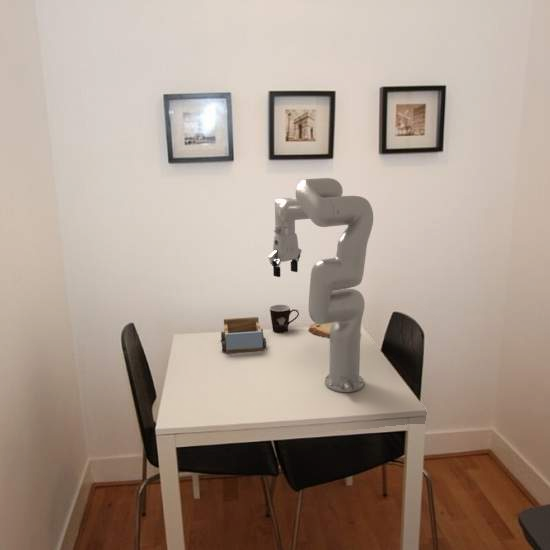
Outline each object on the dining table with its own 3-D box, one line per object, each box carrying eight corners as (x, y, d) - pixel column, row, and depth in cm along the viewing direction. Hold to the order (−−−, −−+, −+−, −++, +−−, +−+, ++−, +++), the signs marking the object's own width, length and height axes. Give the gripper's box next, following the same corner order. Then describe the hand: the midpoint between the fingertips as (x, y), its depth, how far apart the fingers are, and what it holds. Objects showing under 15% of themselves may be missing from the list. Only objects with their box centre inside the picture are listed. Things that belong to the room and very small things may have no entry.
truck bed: (266, 350, 179) (266, 330, 177) (222, 353, 177) (221, 333, 175) (262, 334, 195) (261, 316, 193) (221, 337, 193) (220, 319, 191)
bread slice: (363, 337, 191) (364, 328, 190) (324, 344, 185) (324, 335, 184) (341, 322, 207) (342, 314, 206) (304, 329, 201) (304, 321, 200)
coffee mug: (267, 333, 196) (266, 310, 194) (273, 325, 204) (273, 304, 202) (294, 335, 193) (294, 312, 191) (299, 328, 201) (299, 305, 199)
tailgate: (262, 347, 177) (262, 331, 176) (226, 349, 175) (225, 334, 174) (262, 346, 178) (261, 330, 177) (226, 348, 176) (225, 333, 175)
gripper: (276, 235, 171) (276, 280, 176) (307, 228, 183) (307, 271, 187) (261, 232, 176) (263, 276, 181) (293, 226, 188) (293, 268, 193)
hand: (285, 273), depth 184 cm, fingers open, 9 cm apart
